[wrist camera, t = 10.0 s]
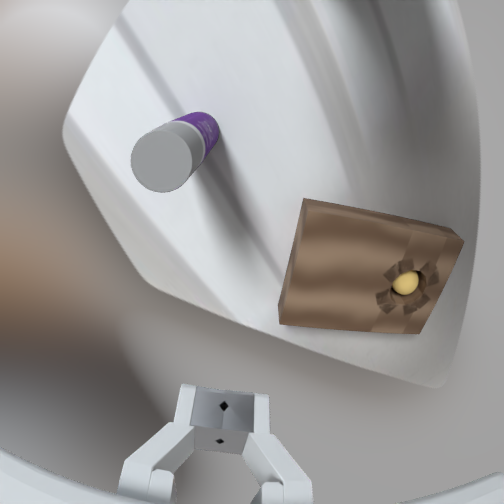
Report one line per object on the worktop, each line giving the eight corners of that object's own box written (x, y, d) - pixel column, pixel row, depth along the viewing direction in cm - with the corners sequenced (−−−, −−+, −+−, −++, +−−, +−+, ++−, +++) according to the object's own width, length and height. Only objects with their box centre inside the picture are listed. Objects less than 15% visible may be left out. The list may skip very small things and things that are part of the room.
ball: (392, 264, 39) (416, 280, 37) (404, 257, 42) (426, 271, 39) (382, 288, 41) (404, 304, 39) (394, 280, 44) (415, 294, 41)
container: (228, 128, 33) (208, 156, 20) (201, 160, 35) (168, 207, 22) (195, 103, 32) (153, 114, 19) (170, 135, 34) (117, 168, 21)
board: (303, 198, 37) (308, 210, 34) (450, 228, 38) (464, 241, 35) (277, 305, 45) (279, 324, 41) (410, 317, 46) (419, 334, 43)
